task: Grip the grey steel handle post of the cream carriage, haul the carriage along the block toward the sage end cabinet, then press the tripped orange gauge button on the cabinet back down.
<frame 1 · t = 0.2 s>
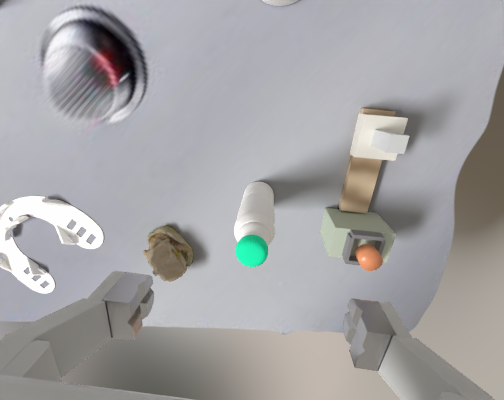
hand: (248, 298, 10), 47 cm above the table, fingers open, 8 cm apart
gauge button: (368, 257, 47), point 14 cm above the table, slide at 0.0 cm
end cabinet: (347, 223, 60), on the table
water bottle: (258, 194, 59), on the table
carriage: (384, 139, 46), point 7 cm above the table, slide at 0.0 cm
block: (362, 162, 55), on the table
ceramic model: (171, 248, 67), on the table
cable organizer: (41, 239, 69), on the table
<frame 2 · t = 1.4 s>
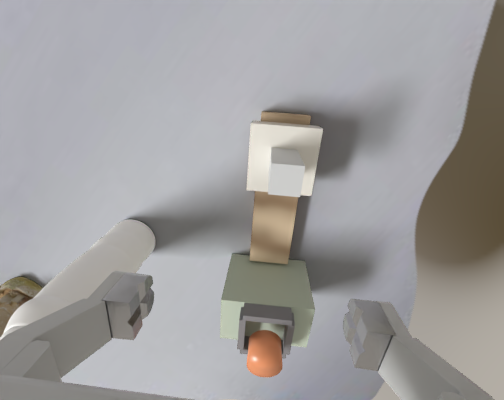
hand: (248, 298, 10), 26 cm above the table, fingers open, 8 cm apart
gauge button: (264, 353, 29), point 14 cm above the table, slide at 0.0 cm
end cabinet: (266, 274, 42), on the table
water bottle: (136, 235, 41), on the table
carriage: (283, 166, 27), point 7 cm above the table, slide at 0.0 cm
block: (275, 192, 36), on the table
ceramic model: (37, 304, 49), on the table
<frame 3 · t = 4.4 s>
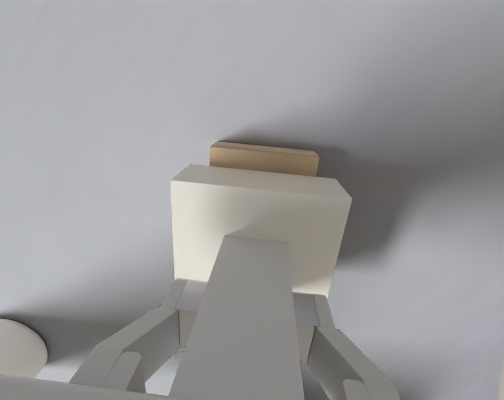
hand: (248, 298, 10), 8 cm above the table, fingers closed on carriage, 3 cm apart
water bottle: (18, 340, 24), on the table
carriage: (249, 293, 11), point 7 cm above the table, slide at 0.0 cm, touching gripper
block: (250, 286, 20), on the table
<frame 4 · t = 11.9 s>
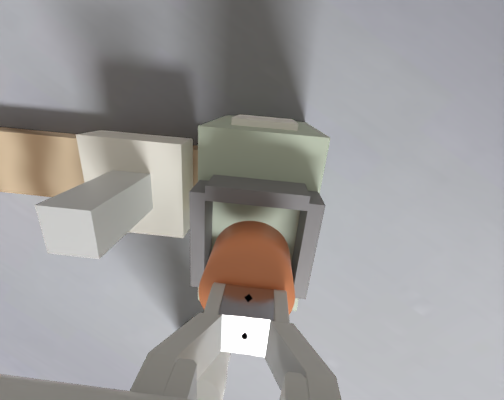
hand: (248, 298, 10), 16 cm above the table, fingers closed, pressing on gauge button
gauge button: (249, 273, 12), point 14 cm above the table, slide at 0.0 cm, touching gripper
end cabinet: (259, 182, 25), on the table
water bottle: (207, 334, 33), on the table
carriage: (119, 199, 18), point 7 cm above the table, slide at 11.0 cm
block: (111, 167, 25), on the table
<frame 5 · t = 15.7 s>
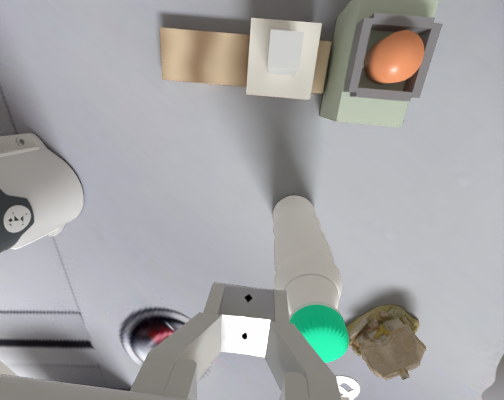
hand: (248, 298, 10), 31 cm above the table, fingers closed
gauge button: (392, 59, 23), point 12 cm above the table, slide at -2.2 cm
end cabinet: (353, 72, 34), on the table
water bottle: (293, 212, 43), on the table
carriage: (282, 58, 28), point 7 cm above the table, slide at 11.0 cm
block: (244, 63, 35), on the table
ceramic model: (379, 326, 51), on the table
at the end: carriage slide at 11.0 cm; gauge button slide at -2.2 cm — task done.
